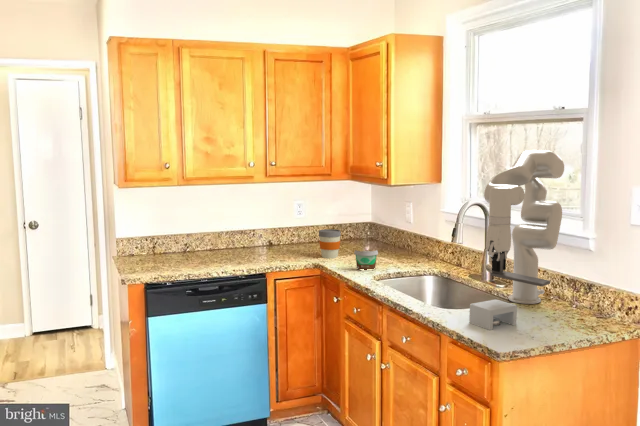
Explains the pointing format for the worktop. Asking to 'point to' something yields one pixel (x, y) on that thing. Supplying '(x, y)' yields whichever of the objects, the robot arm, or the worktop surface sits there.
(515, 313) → the grey footstool block
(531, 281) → the scraper
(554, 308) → the worktop surface
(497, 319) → the steel token
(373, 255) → the food container
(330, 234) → the reusable coffee cup
